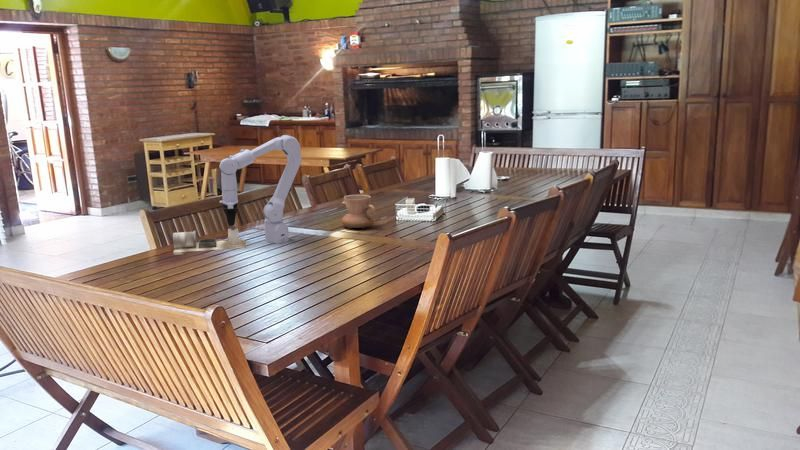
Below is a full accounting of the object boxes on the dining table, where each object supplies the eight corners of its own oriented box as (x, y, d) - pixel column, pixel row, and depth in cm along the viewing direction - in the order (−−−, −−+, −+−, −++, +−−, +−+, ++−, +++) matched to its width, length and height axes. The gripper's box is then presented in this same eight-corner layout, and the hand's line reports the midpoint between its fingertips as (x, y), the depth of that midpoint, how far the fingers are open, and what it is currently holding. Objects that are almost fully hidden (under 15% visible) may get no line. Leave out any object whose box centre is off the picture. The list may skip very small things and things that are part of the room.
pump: (241, 243, 254) (240, 226, 252) (232, 245, 251) (231, 228, 249) (235, 242, 256) (234, 224, 255) (226, 244, 253) (225, 226, 252)
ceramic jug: (333, 227, 286) (332, 196, 283) (353, 222, 298) (353, 192, 295) (364, 233, 276) (363, 201, 273) (384, 227, 288) (384, 196, 285)
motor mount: (244, 241, 262) (243, 224, 260) (246, 250, 248) (245, 231, 247) (175, 246, 254) (174, 228, 253) (173, 255, 241) (171, 236, 240)
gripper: (219, 186, 255) (221, 220, 258) (218, 192, 241) (220, 227, 244) (237, 186, 256) (238, 219, 259) (237, 192, 243) (239, 226, 246)
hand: (231, 223), depth 252 cm, fingers open, 7 cm apart
